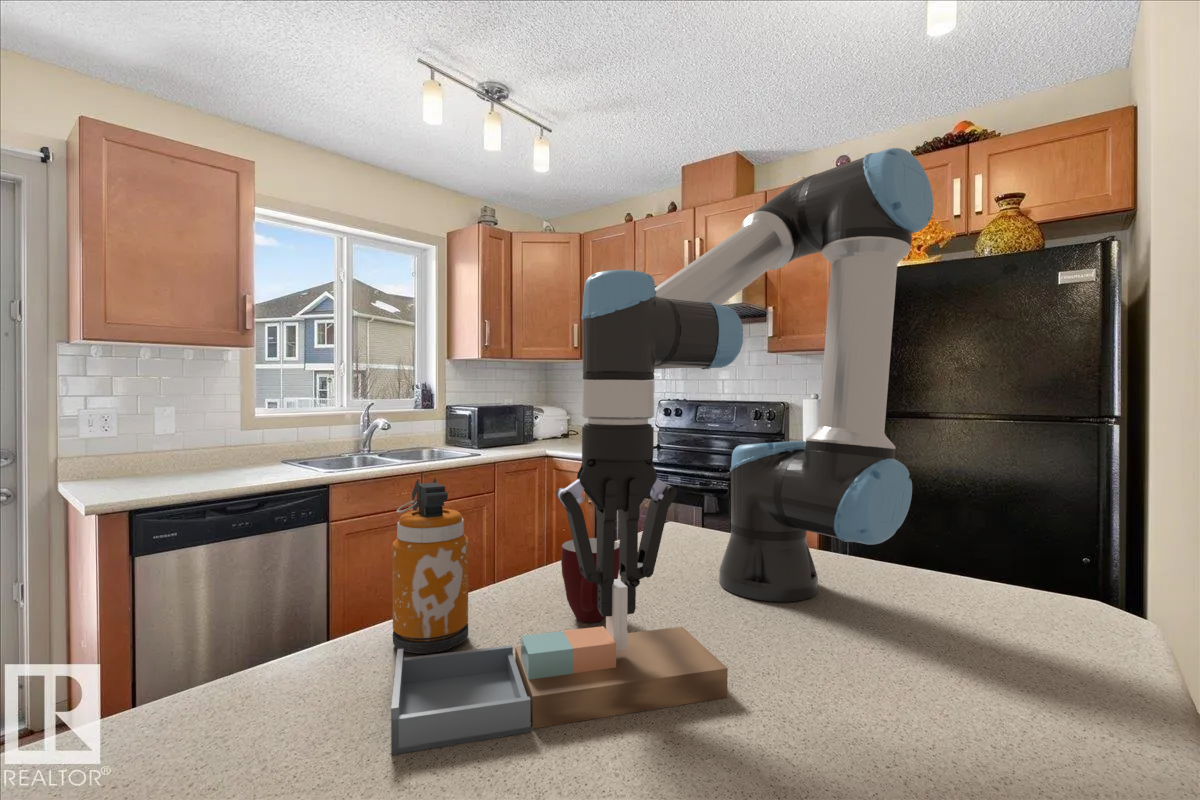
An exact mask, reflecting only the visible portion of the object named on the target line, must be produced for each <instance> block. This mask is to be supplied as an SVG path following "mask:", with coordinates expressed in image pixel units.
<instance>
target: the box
mask: <svg viewBox="0 0 1200 800" xmlns="http://www.w3.org/2000/svg"><path fill="white" fill-rule="evenodd" d="M513 647H514V646H513V644H511V645H510V644H508V645H502V646H501V645H499V646H494V647H486V648H485V647H484V648H477V649H468V650H461V651H458V650H457V651H451V652H443V653H441V652H440V653H432V654H424V655H419V656H409V657H404V651H403V649H398V648H397V650H396V660H395V668H394V670H395V671H394V679H393V686H392V697H391V708H390V727H391V728H390V731H391V732H390V734H391V735H390V737H391V739H390V741H391V742H390V744H391V745H390V751H391V752H390V754H391V756H392V755H399V754H405V753H411V752H412V753H413V752H418V751H423V750H430V749H435V748H442V747H447V746H455V745H459V744H460V745H461V744H467V743H473V742H479V741H485V740H491V739H498V738H503V737H509V736H515V735H521V734H528V733H531V722H530V697H527V694H526V691H525V688H524V685H523V682H522V679H521V676H520V673H519V670H518V667H517V664H516V661H515V656H514V655H515V654H514V651H513V650H514V649H513Z"/></svg>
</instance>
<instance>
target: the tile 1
mask: <svg viewBox="0 0 1200 800" xmlns="http://www.w3.org/2000/svg"><path fill="white" fill-rule="evenodd" d="M563 631H564V630H561V631H559V630H558V631H552V632H544V633H535V634H526V635H521V636H520V639H521V640H520V646H521V661H522V663H523V666H524V669H525V672H526V674H527V677H528V680H530V679H537V678H544V677H552V676H559V675H566V674H573V647H572V646H571V644H570V642H569V640H568V639H567V637H566V635H565V633H564V632H563Z"/></svg>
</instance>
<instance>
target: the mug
mask: <svg viewBox="0 0 1200 800" xmlns="http://www.w3.org/2000/svg"><path fill="white" fill-rule="evenodd" d="M589 541H590V545H591V550H592V554H593V558H594V562H595V567H596V562H597V537H589ZM560 551H561V555H560V556H561V557H560V562H561V563H560V565H561V573H562V572H563V576H562V579H563V578H564V579H563V582H564V588H565V590H564V591H565V596H566V599H567V603H568V605H569V607H570V610H571V611H572V613H573V615H574V617H575V619H576V620H578V621H579V622H581V623H586V624H587V623H588V624H595V623H600V622H602V621H603V620H604V619H606V617H603V616H602V615H601V614H600V612H599V610H598V584H597V583H594V582H592V583H590V582H588V581H587V580H586V579H585V577H584V576H583V575H582V574H581V572H580V568H579V564H578V560H577V555H576V551H575V547H574V542H573V539H569V540H567V541H565V542H563V543H562V544H561V550H560ZM619 575H620V574H619V542H618V541H615V540H614V579H619Z"/></svg>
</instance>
